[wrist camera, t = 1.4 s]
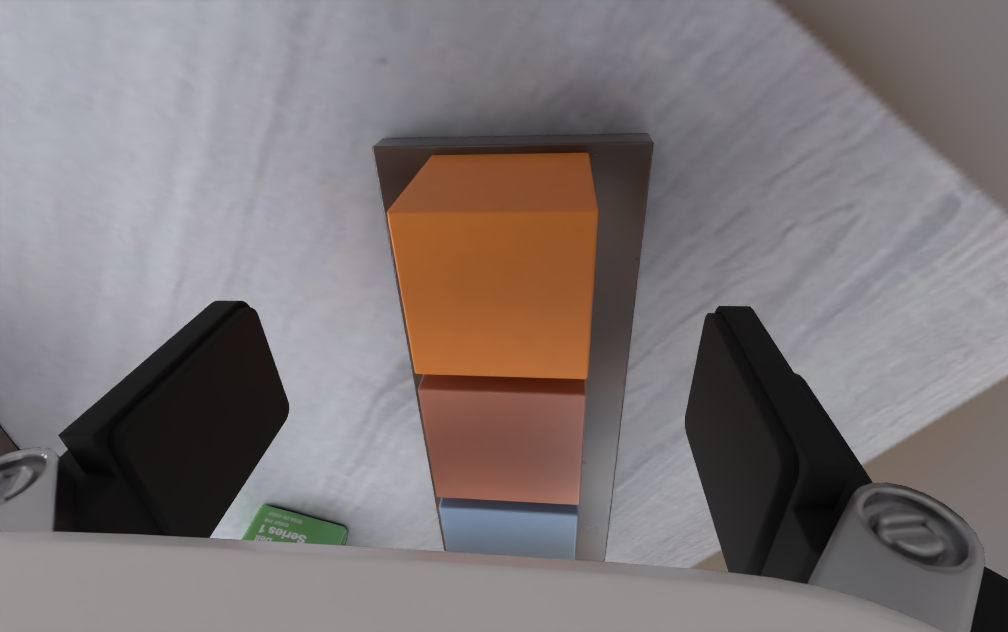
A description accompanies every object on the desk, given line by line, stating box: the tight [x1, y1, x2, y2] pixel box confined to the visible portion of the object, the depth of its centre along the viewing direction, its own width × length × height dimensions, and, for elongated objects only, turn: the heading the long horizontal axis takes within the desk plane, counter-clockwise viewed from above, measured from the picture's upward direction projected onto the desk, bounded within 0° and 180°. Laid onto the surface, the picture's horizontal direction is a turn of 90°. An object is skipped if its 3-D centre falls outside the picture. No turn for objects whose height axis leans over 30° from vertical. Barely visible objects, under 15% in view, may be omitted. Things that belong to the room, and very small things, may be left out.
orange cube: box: [387, 153, 598, 379], centre depth 14 cm, size 4×4×4 cm
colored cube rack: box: [372, 134, 654, 562], centre depth 18 cm, size 20×8×6 cm, turn 2°
